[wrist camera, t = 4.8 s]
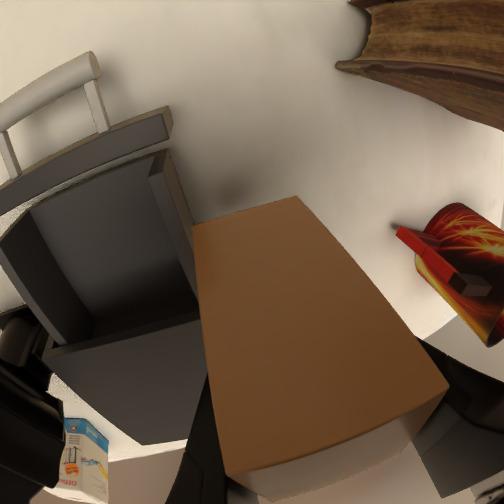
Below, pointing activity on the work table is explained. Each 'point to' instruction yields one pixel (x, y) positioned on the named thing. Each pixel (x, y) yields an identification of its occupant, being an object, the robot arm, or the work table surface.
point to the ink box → (83, 464)
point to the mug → (464, 266)
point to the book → (438, 53)
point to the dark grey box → (139, 376)
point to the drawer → (97, 220)
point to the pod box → (303, 354)
